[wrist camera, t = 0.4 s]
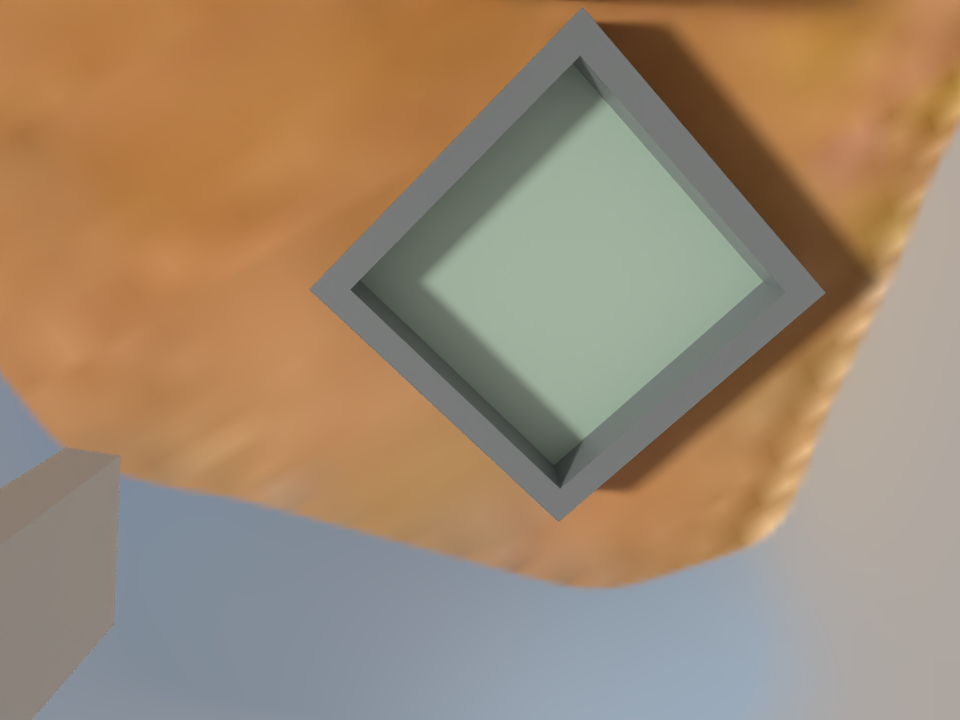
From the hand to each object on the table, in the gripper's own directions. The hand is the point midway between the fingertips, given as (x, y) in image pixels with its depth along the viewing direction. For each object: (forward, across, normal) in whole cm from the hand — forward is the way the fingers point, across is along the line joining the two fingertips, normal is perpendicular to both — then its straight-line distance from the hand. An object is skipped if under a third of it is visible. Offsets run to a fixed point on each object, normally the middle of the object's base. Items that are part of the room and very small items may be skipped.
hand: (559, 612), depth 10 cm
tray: (+25, +2, +2) cm, 25 cm away
